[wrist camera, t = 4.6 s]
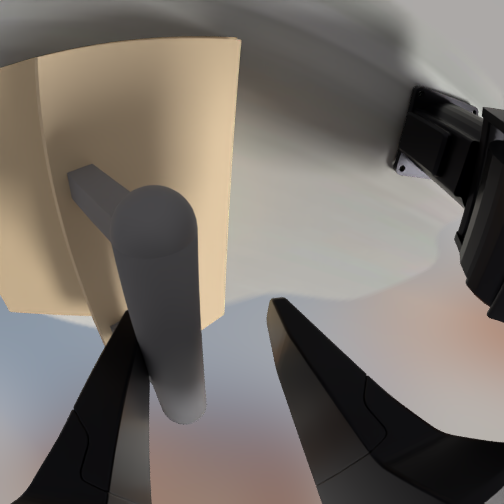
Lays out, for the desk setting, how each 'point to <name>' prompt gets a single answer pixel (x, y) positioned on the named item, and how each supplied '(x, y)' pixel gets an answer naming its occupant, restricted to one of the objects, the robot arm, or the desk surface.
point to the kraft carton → (33, 205)
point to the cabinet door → (146, 192)
